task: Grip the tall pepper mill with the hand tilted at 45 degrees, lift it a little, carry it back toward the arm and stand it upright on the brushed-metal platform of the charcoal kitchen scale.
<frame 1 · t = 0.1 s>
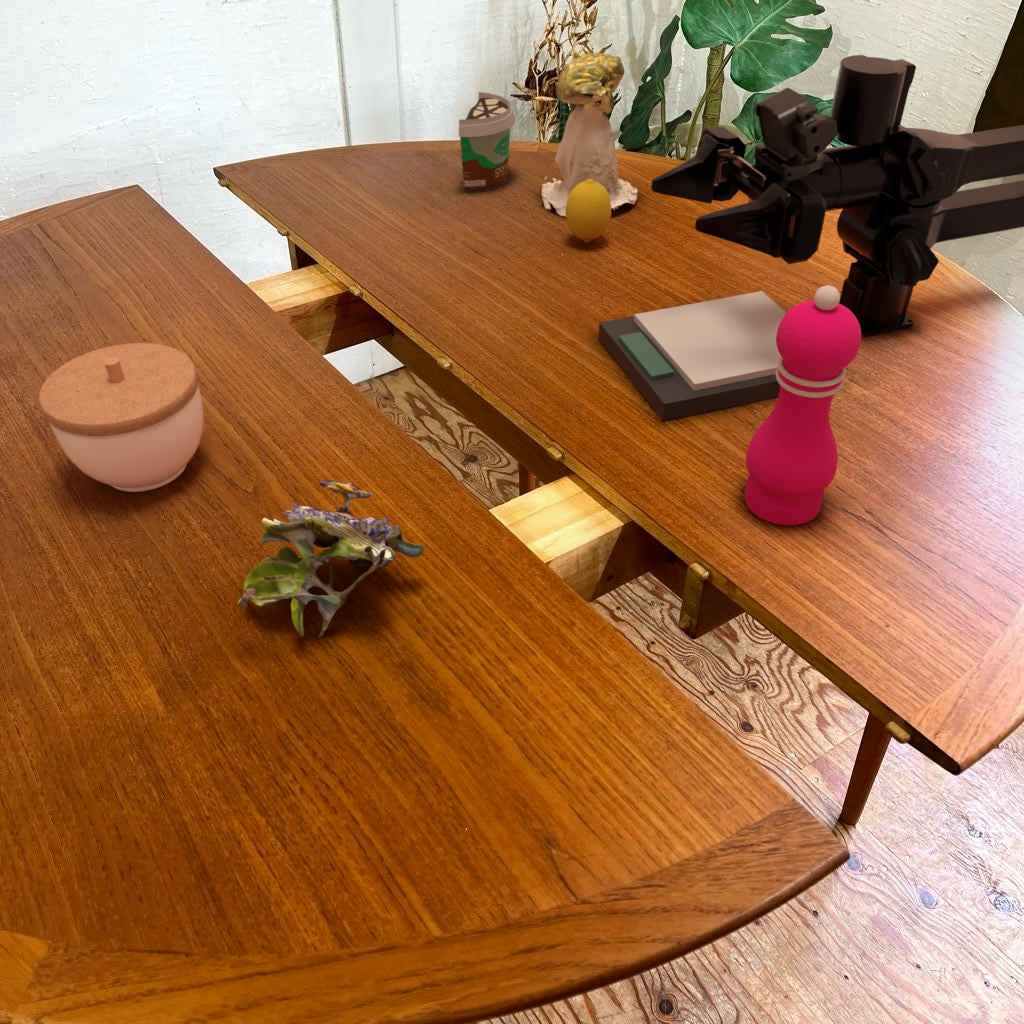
hand: (673, 204, 88), 17 cm above the table, tool horizontal, fingers open, 9 cm apart
mushroom: (588, 201, 129), on the table
passion flower: (334, 601, 73), on the table
scale: (714, 360, 98), on the table
lidded bowl: (147, 468, 86), on the table
lemon: (587, 243, 119), on the table
pepper mill: (781, 503, 81), on the table
food container: (493, 181, 135), on the table
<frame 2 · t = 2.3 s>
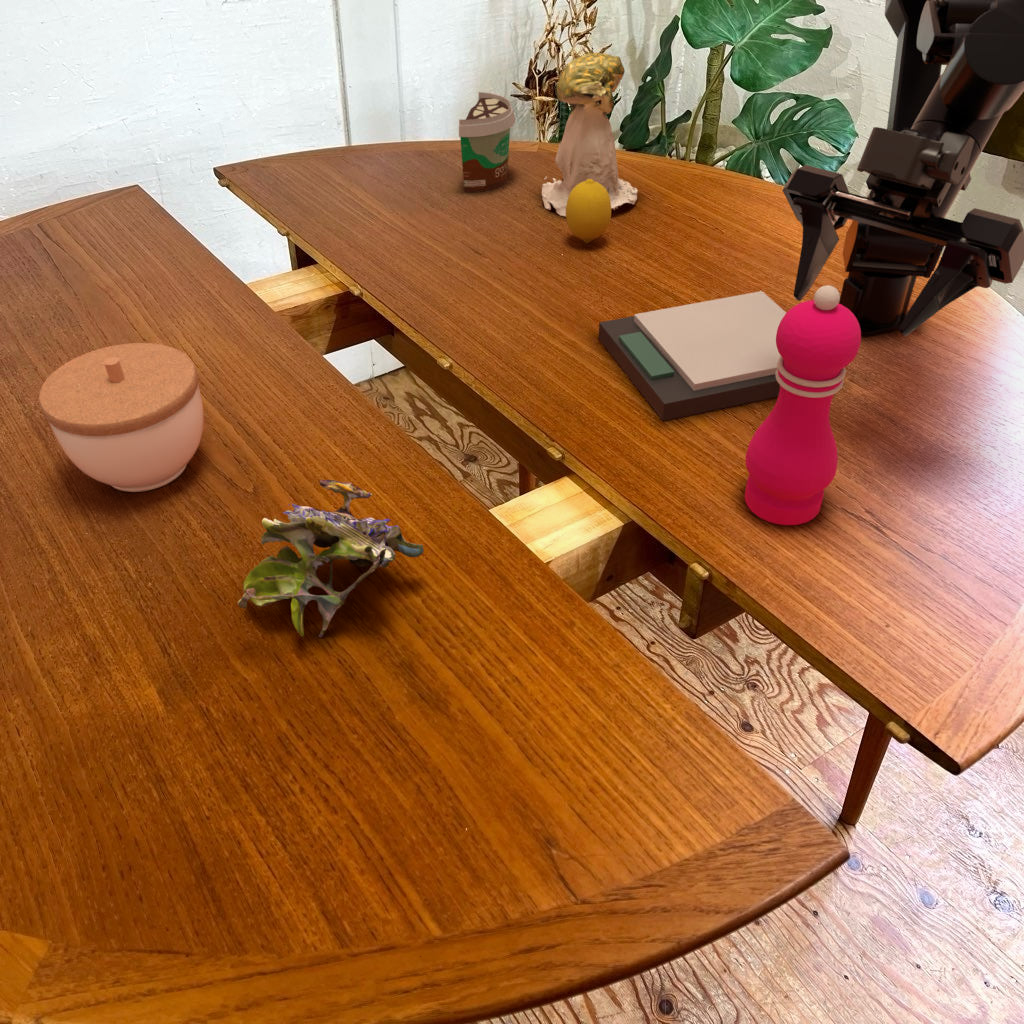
hand: (847, 316, 77), 14 cm above the table, tool tilted 45°, fingers open, 9 cm apart
nothing on the table moved.
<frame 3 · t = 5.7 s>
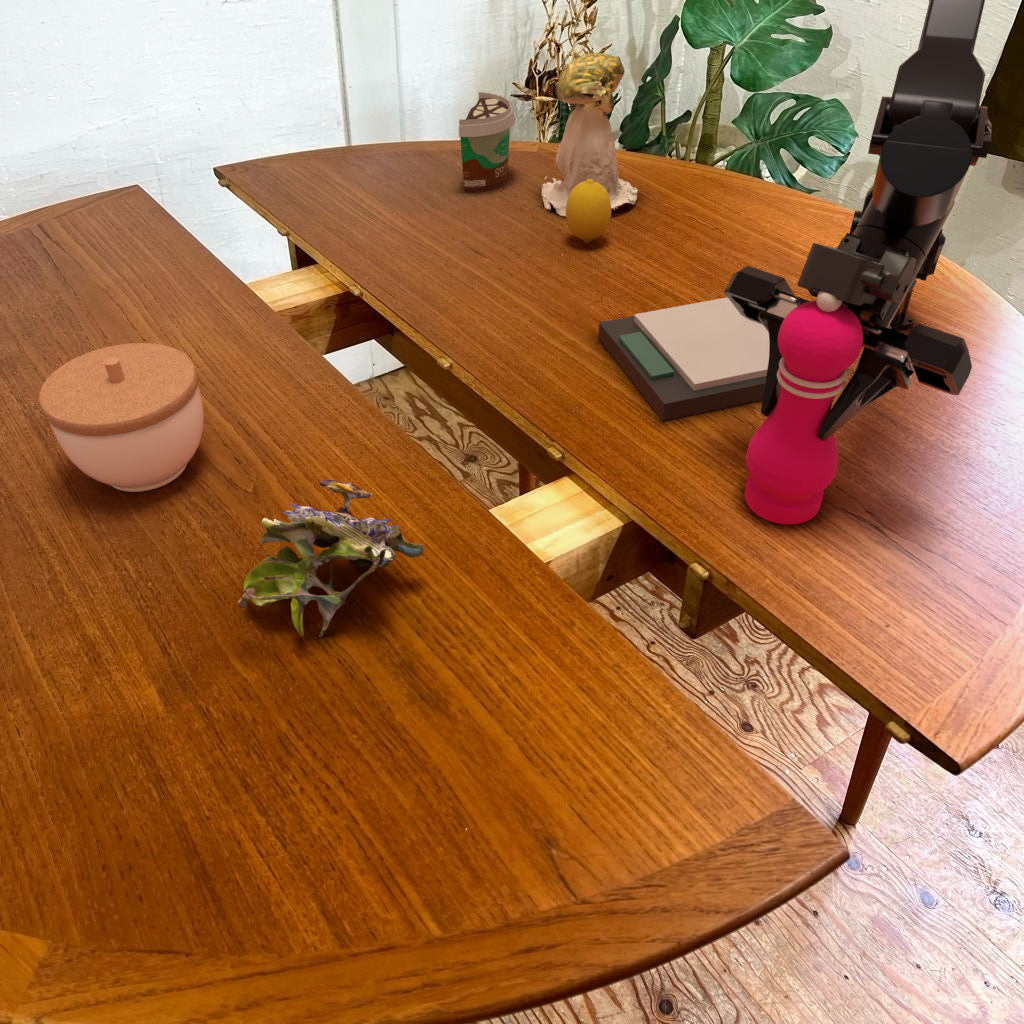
hand: (791, 426, 75), 9 cm above the table, tool tilted 45°, fingers closed on pepper mill, 4 cm apart
pepper mill: (781, 502, 81), on the table, touching gripper
everything else where it was.
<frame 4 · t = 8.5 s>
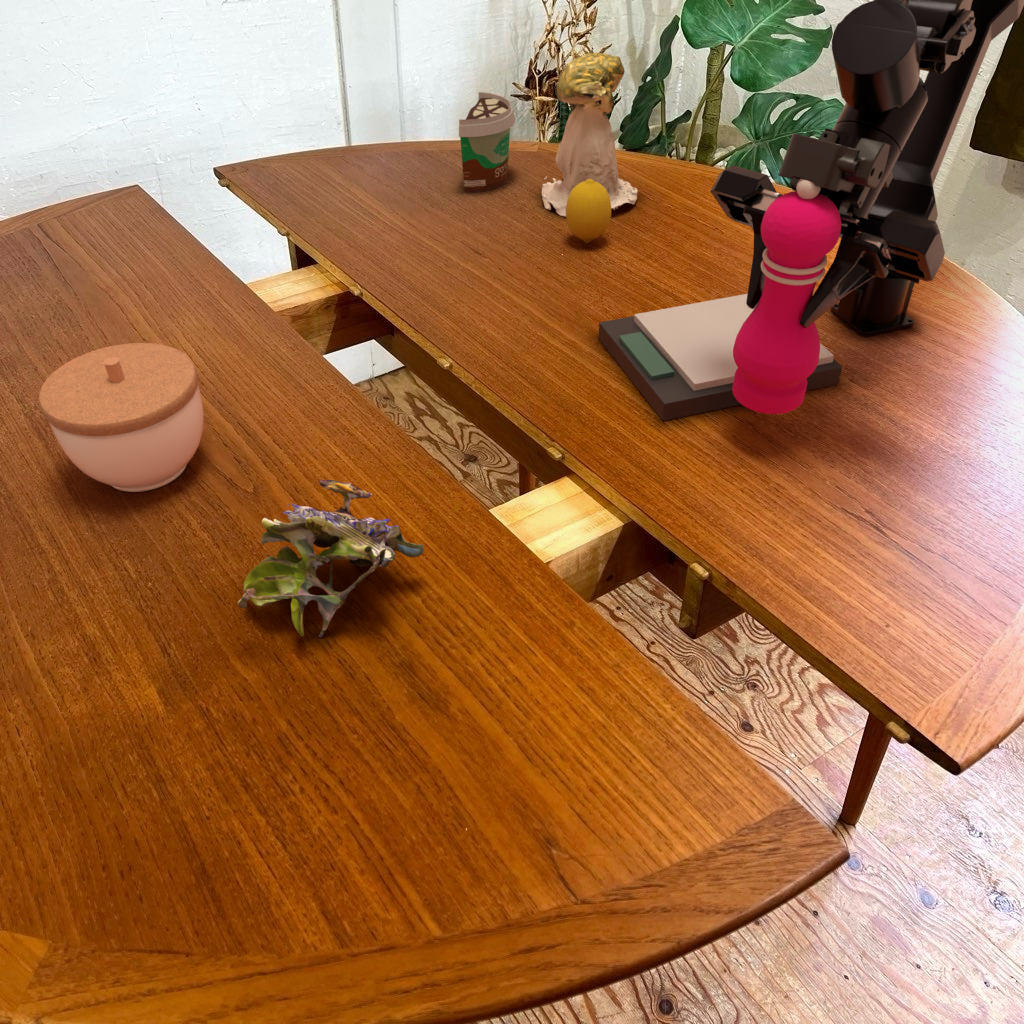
hand: (775, 316, 79), 13 cm above the table, tool tilted 45°, fingers closed on pepper mill, 4 cm apart
pepper mill: (767, 395, 85), point 4 cm above the table, touching gripper
everything else where it was.
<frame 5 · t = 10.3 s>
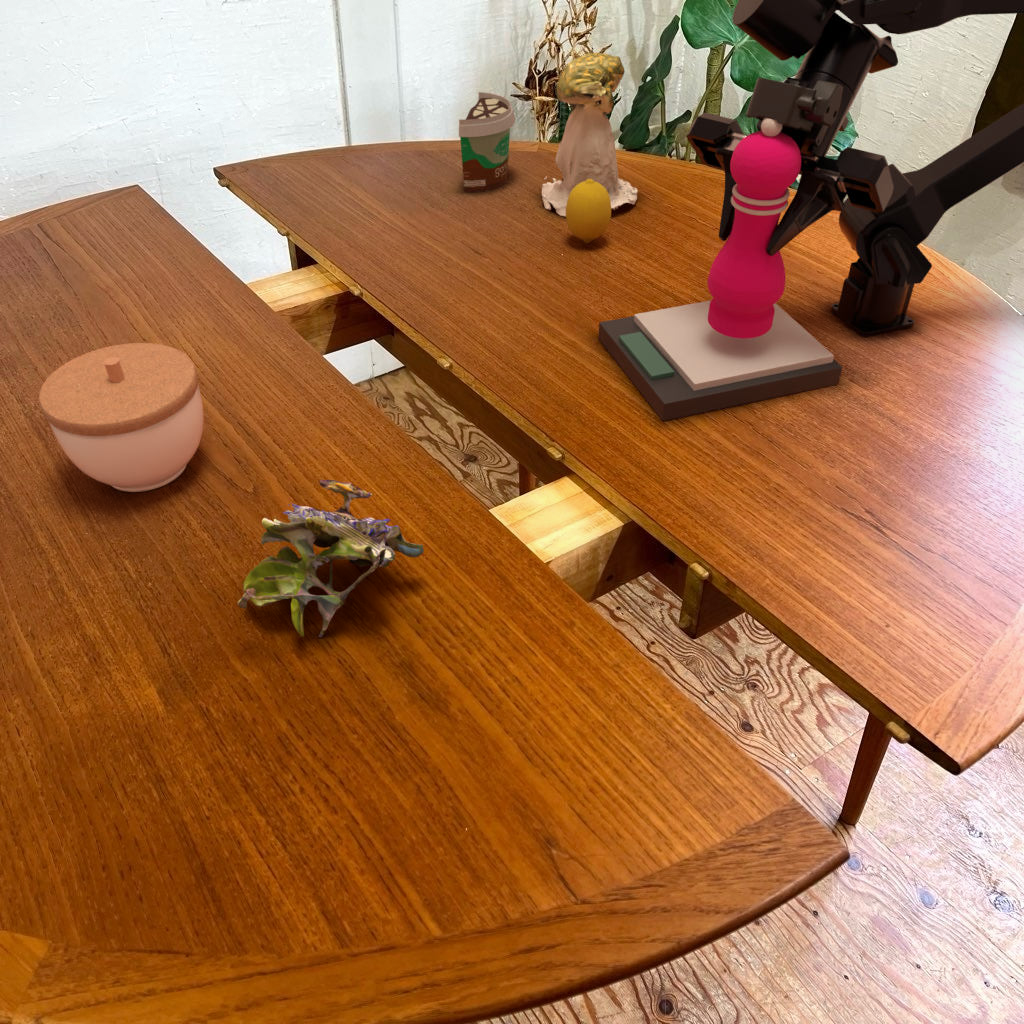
hand: (744, 246, 88), 13 cm above the table, tool tilted 45°, fingers closed on pepper mill, 4 cm apart
pepper mill: (739, 324, 94), point 5 cm above the table, touching gripper
everything else where it was.
when the fingers open (11 cm above the table, at t = 11.5 s): pepper mill stays where it is, resting on scale.
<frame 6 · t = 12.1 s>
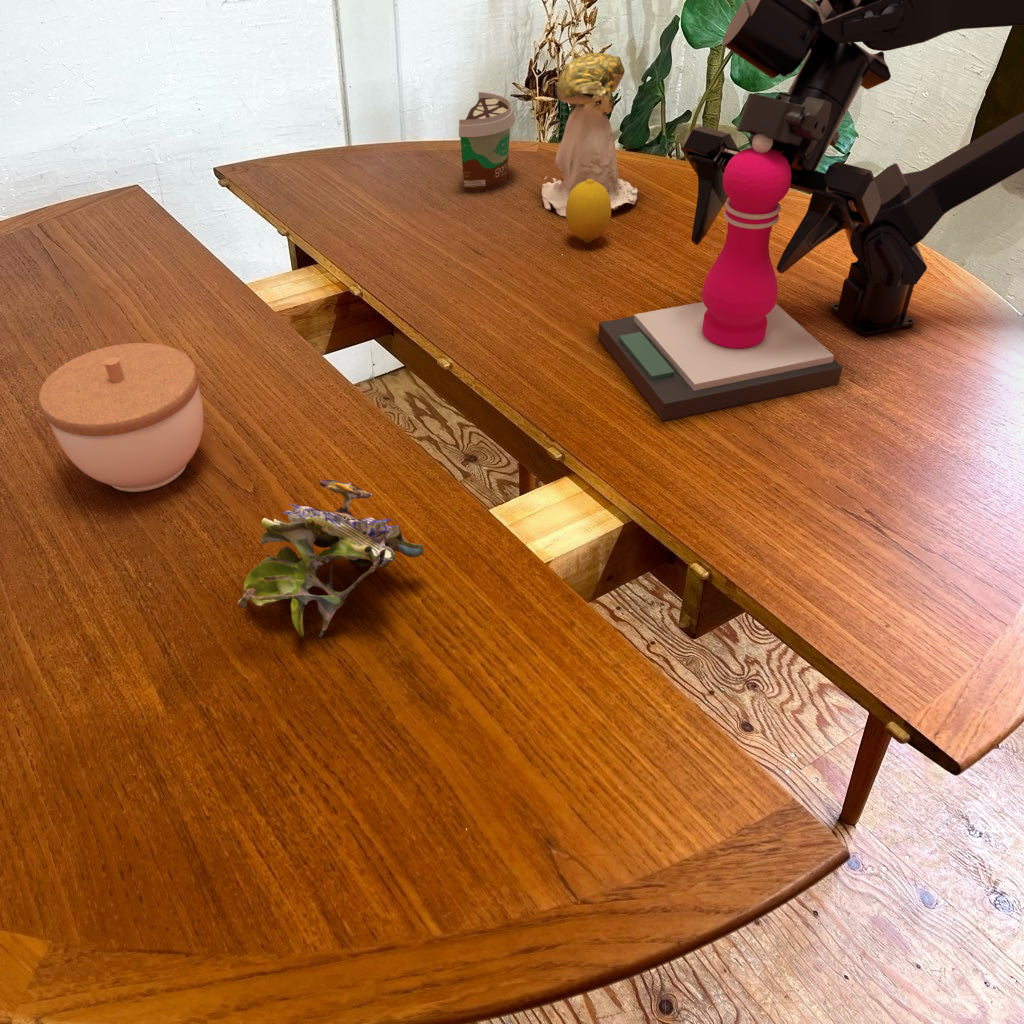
hand: (735, 256, 90), 12 cm above the table, tool tilted 45°, fingers open, 9 cm apart
pepper mill: (733, 334, 97), point 3 cm above the table, touching gripper, scale
everything else where it was.
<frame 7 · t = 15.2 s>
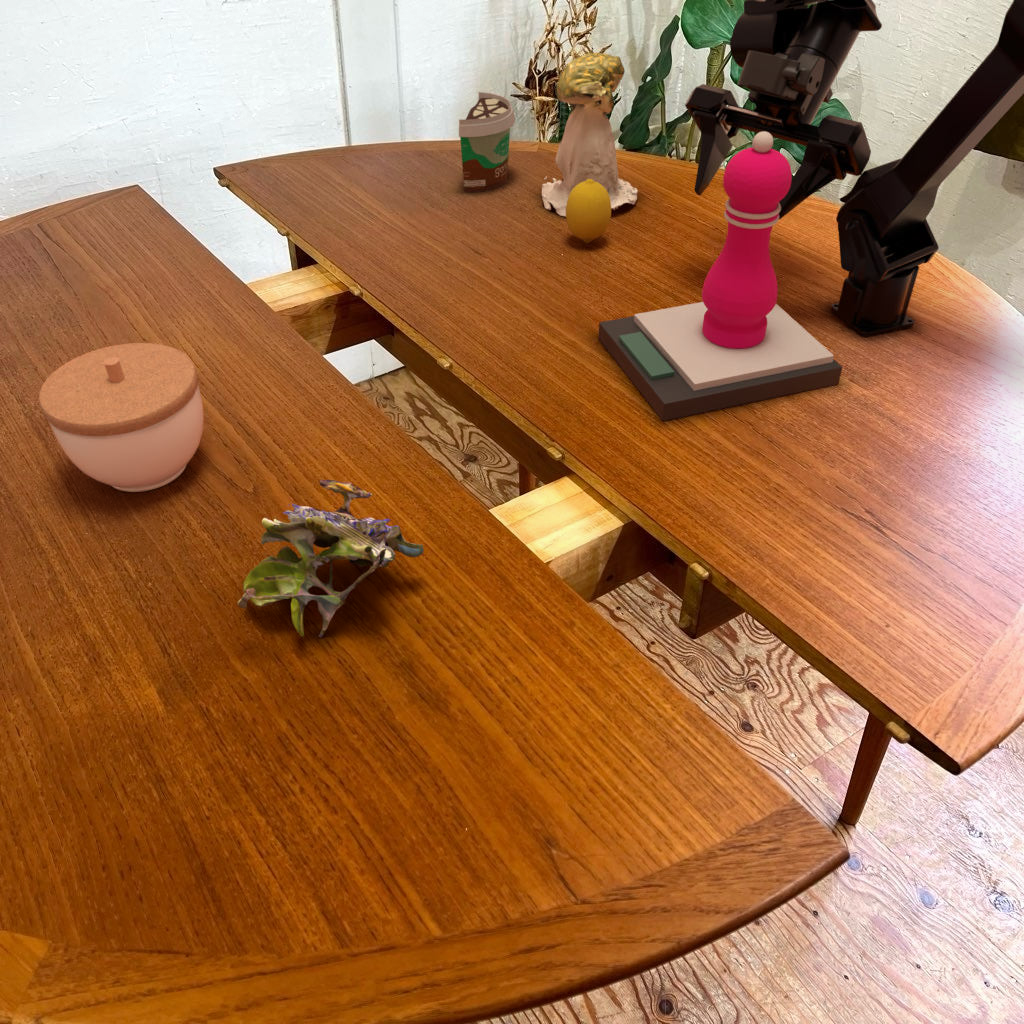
hand: (735, 205, 97), 13 cm above the table, tool tilted 45°, fingers open, 9 cm apart
pepper mill: (733, 334, 97), point 3 cm above the table, touching scale
everything else where it was.
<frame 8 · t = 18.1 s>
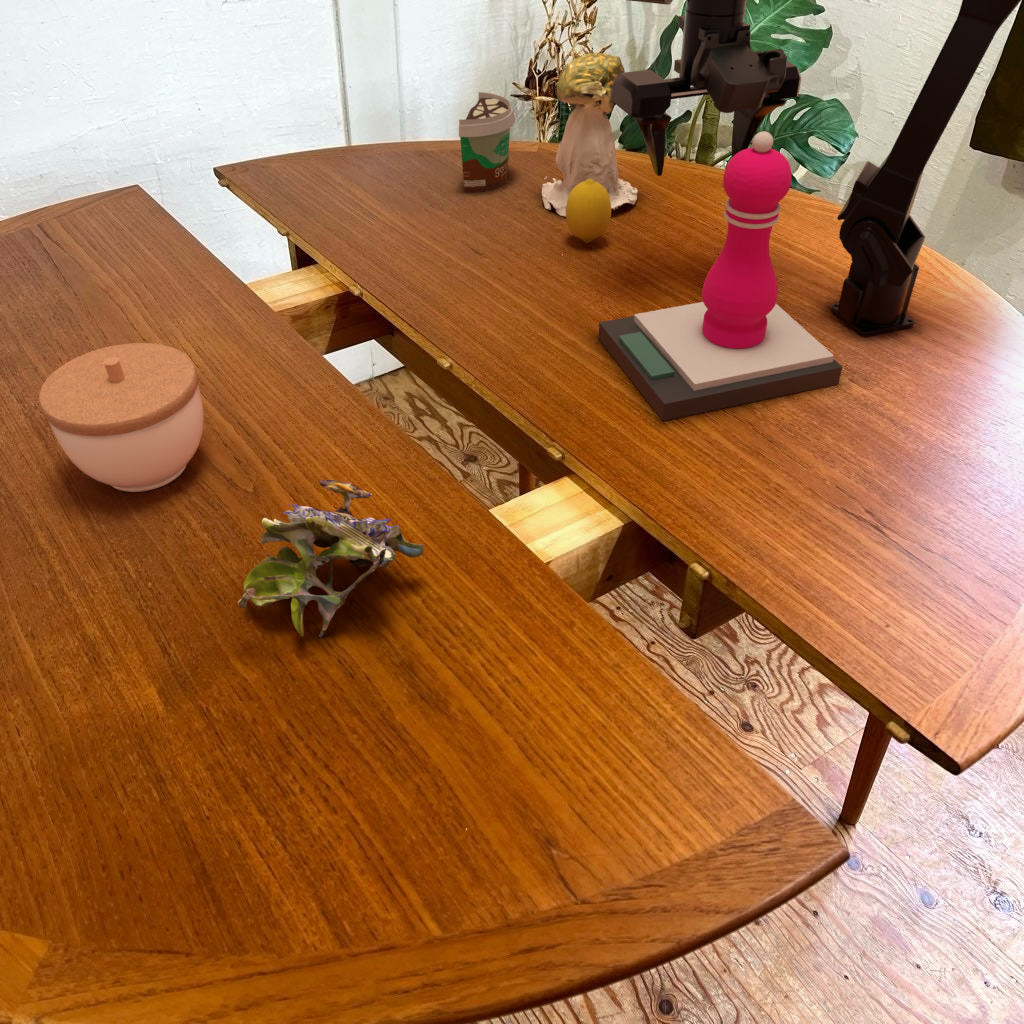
hand: (697, 168, 103), 13 cm above the table, tool pointing down, fingers open, 9 cm apart
nothing on the table moved.
at the end: pepper mill inside the target area on the scale (0.3 cm from its centre), point 2.6 cm above the scale's base; pepper mill tilted 0°; the gripper is holding nothing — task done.
